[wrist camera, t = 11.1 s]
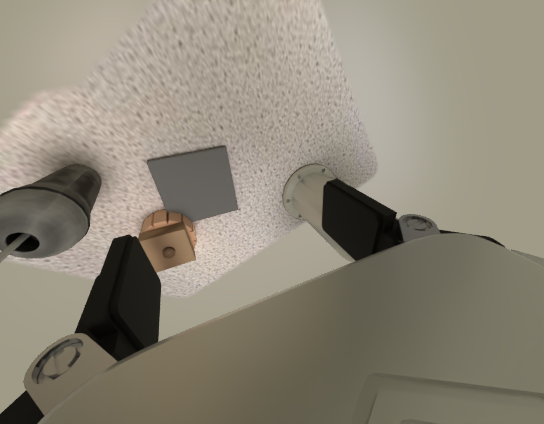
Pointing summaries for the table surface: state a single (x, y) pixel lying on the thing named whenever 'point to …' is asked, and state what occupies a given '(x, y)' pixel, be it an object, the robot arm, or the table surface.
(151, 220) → the bowl
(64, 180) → the beverage cup
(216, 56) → the table surface
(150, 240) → the lid
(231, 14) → the table surface
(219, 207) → the mat
